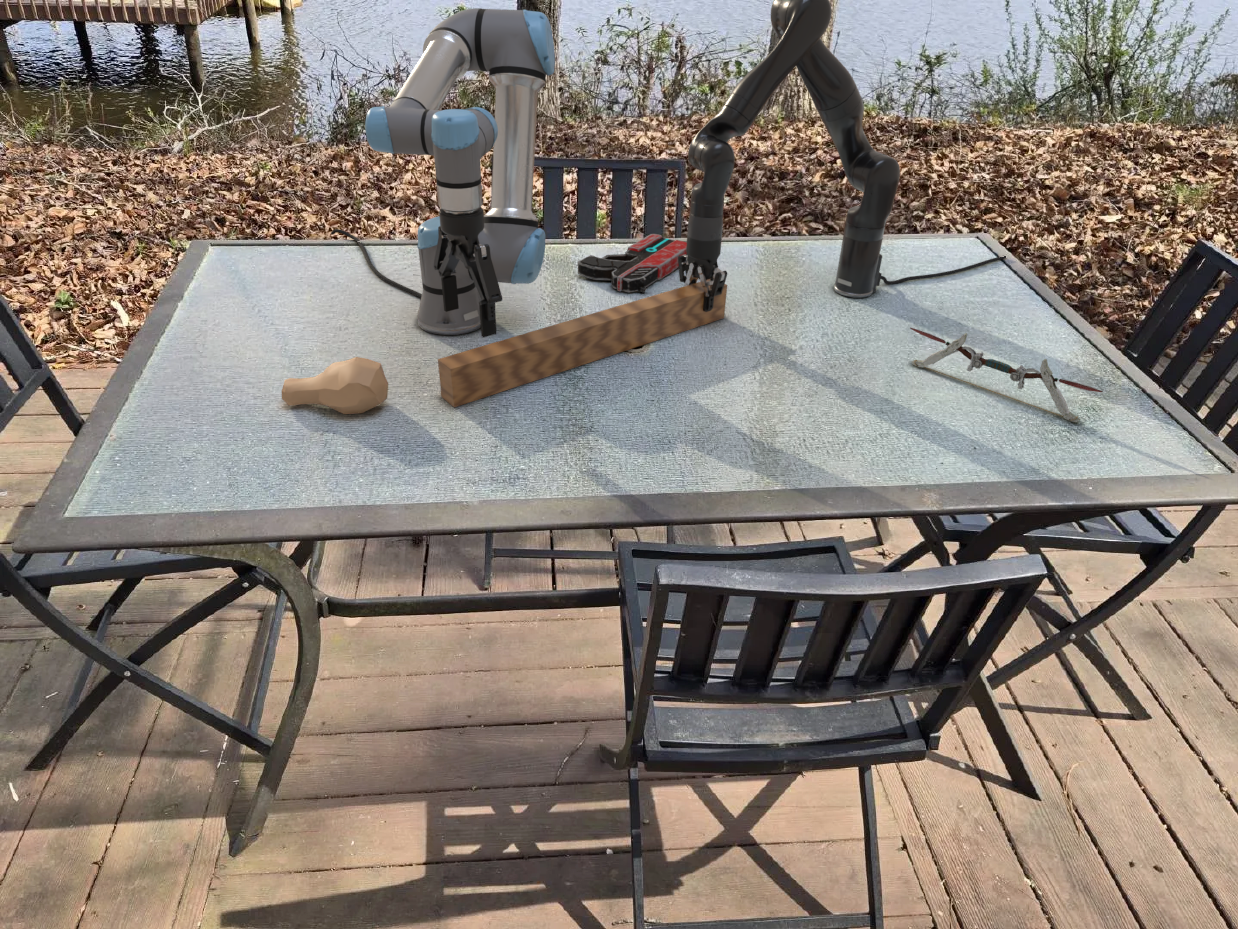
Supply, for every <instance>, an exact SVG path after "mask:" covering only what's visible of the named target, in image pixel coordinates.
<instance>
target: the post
mask: <svg viewBox="0 0 1238 929" xmlns="http://www.w3.org/2000/svg"><path fill="white" fill-rule="evenodd" d="M708 281H710V279H708V280H706V282H708ZM709 291H710V285H709ZM727 292H728V284H726V283H725V284H724V288H723V291H722V294H721V295H717V296H714V304H713V309H712V310H711V311H708V312H705V311H703V303H704V296H705V294H704V288H703V287H702V286H701V281H697V283H694V284H691V285H687V286H685V285H683V286H681V287H677V288H674V289H671V290H667V291H665V292H661V293H658V294H657V293H656V294H654V295H651V296H646V297H644V298H641V299H636V300H633V301H631V302H626V303H623V304H620V305H617V306H613V307H610V308H606V309H603V310H600V311H596V312H593V313H589V314H585V315H583V316H579V317H577V318H573V319H569V320H566V321H563V322H559V323H556V324H553V325H549V326H545V327H542V328H539V329H535V330H532V331H528V332H525V333H522V334H518V335H515V336H511V337H509V338H504V339H502V340H498V341H495V342H491V343H488V344H485V345H482V346H478V347H475V348H471V349H468V350H464V351H461V352H457V353H454V354H451V355H448V356H444V357H440V358H438V359H437V366H438V374H439V386H440V396H441V399H443V400H444V401H446V402H447V403H448V404H449V405H451V407H453V408H457V407H460V406H464V405H466V404H469V403H472V402H475V401H478V400H481V399H484V398H487V397H491V396H494V395H496V394H500V393H502V392H506V391H508V390H512V389H514V388H517V387H520V386H521V387H522V386H524V385H526V384H529V383H533V382H536V381H539V380H541V379H545V378H547V377H551V376H554V375H557V374H561V373H564V372H566V371H569V370H572V369H575V368H578V367H581V366H585V365H587V364H590V363H593V362H596V361H599V360H602V359H606V358H609V357H611V356H614V355H617V354H620V353H623V352H626V351H629V350H632V349H635V348H638V347H642V346H644V345H647V344H651V343H653V342H656V341H659V340H663V339H665V338H668V337H671V336H674V335H677V334H681V333H683V332H687V331H689V330H692V329H696V328H699V327H701V326H704V325H707V324H711V323H714V322H716V321H719V320H720V321H721V320H723V319H725V312H726V303H727Z"/></svg>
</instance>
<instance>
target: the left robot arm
mask: <svg viewBox="0 0 1238 929" xmlns="http://www.w3.org/2000/svg"><path fill="white" fill-rule="evenodd" d="M555 67H556V56H555V44H554V38H553V30H552V26H551V22H550V20H549V18H548V17H547V15H546V14H545V13H544V12H542V11H535V10H527V9H526V8H525V9H500V8H499V9H498V8H497V9H495V8H480V7H479V8H478V7H475V8H474V7H473V8H468V9H462V10H460V11H458V12H455V13H454V14H452V15H450V16H447V18H445V19H444V20H442V21H440V22H439V23H437V25H435V26H434V28H433V29H432V30H431V31H430V32H429V33H428V35H427V36H426V38H425V40H424V41H423V46H422V55H421V56H420V58H419V60H418V61H417V63H416V64H415V66H414V68H413V69H412V70H411V72H410V74H409V75H408V77H407V78H406V80H405V82H404V84H403V85H402V86H401V89H400V90H399V91H398V93H397V94H396V97H395V98H394V99H393V100H392V102H391V104H390V105H389V106H385V105H382V106H373V107H371V108H369V110H368V111H367V113H366V116H365V122H364V124H365V125H364V126H365V135H366V140H367V143H368V145H369V147H370V148H371V149H372V150H373V151H375V152H379V153H387V154H391V155H395V154H398V155H399V154H402V155H419V156H420V155H421V156H433V158H434V159H433V160H434V168H435V169H434V170H435V177H436V179H435V181H436V182H435V183H436V185H435V186H436V195H437V206H438V207H439V208H440V209H439V211H438V216H434V217H431V218H428V219H427V220H425V221H424V222H422V223H421V224H420V225H419V226H418V229H417V247H416V248H417V250H418V258H419V259H418V260H419V267H420V275H421V276H420V278H421V284H422V292H421V293H420V292H419V291H416V290H414V289H411V288H410V287H407V286H404V285H403V284H401V283H398V282H396V281H394V280H392V279H390V278H388V277H387V276H385V275H384V274H382V273H381V272H380V271H378V269H377V268H376V267H375V266H374V264H373V263H372V260H371V258H370V256H369V254H368V252H367V249H366V247H365V245H364V244H363V243H362V242H361V243H360V242H356V241H361V240H360V239H359V238H358V237H357V236H355V235H353V234H351V233H350V232H348V231H345V230H343V229H340V228H334V229H333V230H331V232H330V235H335V234H337V233H339V234H342V235H345V236H346V237H348V238H349V239H352V240H353V241H355V242H356V244H358V246H359V247H360V249H361V251H362V253H363V256H364V258H365V261H366V263H367V265H368V267H369V268H370V269H371V271H372V272H373V273H374V274H375V275H376V276H377V277H379V279H381V280H382V281H384V282H386V283H388V284H389V285H391V286H394V287H396V288H398V289H401V290H402V291H404V292H406V293H409V294H410V295H413V296H415V297H418V298H419V299H420V302H419V305H418V310H417V315H416V318H417V325H418V326H419V328H420V329H421V330H423V331H424V332H427V333H430V334H433V335H440V336H459V335H465V334H469V333H473V332H476V331H477V330H480V335H481V336H480V337H482V338H487V337H490V336H494V335H497V320H496V316H497V315H496V303H499V302H502V301H503V294H502V292H501V288H500V285H499V283H501V284H511V285H517V284H518V285H519V284H520V285H521V284H522V285H526V284H527V285H530V284H532V283H534V282H535V281H536V280H537V279H538V277H539V275H540V273H541V269H542V267H543V262H544V258H545V253H546V252H545V251H546V238H547V236H546V232H545V230H544V229H542V228H541V227H539V218H537V217H536V215H534V212H533V194H534V192H533V191H534V174H535V173H534V172H535V171H534V170H535V155H536V154H535V153H536V152H535V151H536V135H537V134H536V133H537V132H536V131H537V112H538V94H539V92H540V91H541V90H542V89H543V88H544V87H546V80H547V76H548V77H549V76H552V75H553V74H554V73H555ZM467 72H488V81H490V83H491V84H492V86H493V87H495V88H494V89H495V100H494V101H495V102H494V116H493V114H492V113H491V112H489V111H488V110H487V109H485V108H483V107H478V106H473V107H468V108H465V109H462V108H461V109H460V108H449V109H448V108H447V109H442V110H441V107H442V106H443V104H444V102H445V101H446V99H447V97H448V95H449V93H450V91H451V90H452V88H453V86H454V85H455V82H456V81H457V79H459V78H462V77H463V76H464V75H465V74H466V73H467ZM492 149H493V150H492ZM491 150H492V151H493V152H492V155H493V156H492V175H491V176H492V177H491V200H490V201H491V202H490V209H489V210H488V211H487V212H486V213H485V212H484V209H483V204H484V203H483V188H484V187H483V185H482V168H481V159H482V158H483V157H484V156H485V155H486V154H487V153H489V152H490V151H491ZM484 213H485V214H484Z"/></svg>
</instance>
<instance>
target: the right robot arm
mask: <svg viewBox="0 0 1238 929" xmlns="http://www.w3.org/2000/svg"><path fill="white" fill-rule="evenodd" d="M832 12H833V10H832V5H831V2H830V0H773V2H772V4H771V8H770V23H771V27H772V29H773V32H774V34H775V35H776V37H777V38H778V40H779V41H778V42H777V44H776V45H775V46H774V48H773V49H772V50H771V51H770V52H769V54H767V56H766V57H765V58H763V60H762V61H760V62H759V63H758V64H757V65H756V66H754V67H753V68H752V69H751V70H750V71H748V72H747V73H746V74H745V75H744V76H743V77H742V78H741V79H740V81H739V82H737V84H736V86H735V87H734V88H733V90H732V91H731V92H730V94H729V96H728V97H727V99H726V100H725V101H724V103H723V105H722V107H721V108H720V110H719V111H718V113H717V114H715V115H714V116H712V118H711V119H710V120H708V122H707V123H706V124H705V125H704V126H703V127H702V128H701V129H700V130H699V131H698V132H697V133H696V134H695V136H694V137H693V139H692V140H691V142H690V144H689V147H688V151H687V158H688V161H689V163H690V165H691V166H692V167H693V168H695V169H696V170H699V171H701V172H703V178H702V182H698V183H696V184H695V185H693V187H692V190H691V195H690V208H689V217H688V222H687V223H688V224H687V234H686V242H687V246H686V253H687V254H685V255H681V256H678V266H679V267H678V276H679V277H678V278H679V282H680V283H683V284H684V286H687V285H691V284H694V283H698V280H699V282H701V286H702V287H703V288H704V294H705V296H704V303H703V311H705V312H708V311H711V310H712V309H713V304H714V296H717V295H721V294H722V291H723V288H724V284H726V281H727V277H728V272H727V270H721V269H720V268H719V264H718V260H719V257H720V255H721V252H722V240H723V228H724V207H725V206H724V205H725V194H726V193H727V190H728V187H729V185H730V181H731V178H732V175H733V172H734V168H735V163H736V162H735V161H736V160H735V158H736V157H735V151H734V149H733V147H732V145H731V144H730V143H728V142H729V141H730V140H731V139H732V138H735V137H743V136H744V135H746V133H747V132H748V131H749V130H750V129H751V127H752V125H753V124H754V122H755V120H756V119H757V118H758V116H759V115H760V113H761V111H762V110H763V109H764V107H765V105H766V104H767V103H768V101H769V99H770V98H771V97H772V96H773V94H774V93H775V91H776V90H777V89H778V88H779V87H780V85H781V84H782V83H783V82H784V80H785V79H786V78H787V77H788V76H789V75H790V74H791V72H792V71H793V70H794V69H795V68H796V70H797V71H798V73H799V76H800V77H801V80H802V82H803V84H804V86H805V88H806V90H807V92H808V94H809V96H810V98H811V100H812V102H813V105H814V107H815V110H816V112H817V113H818V116H819V118H820V119H821V121H822V123H823V126H825V129H826V130H827V133H828V136H829V137H830V139H831V141H832V142H833V144H834V147H835V148H836V151H837V153H838V155H839V158H840V162H841V165H842V168H843V171H844V174H845V177H846V179H847V181H848V183H849V184H850V186H851V187H853V189H855V190H857V191H858V192H861V193H862V199H861V202H860V205H855V206H852V207H850V208H848V210H847V212H846V217H845V223H844V229H843V234H842V241H841V245H840V246H841V247H840V252H839V257H838V265H837V269H836V274H835V275H836V276H835V282H834V284H833V290H834V292H835V293H837V294H839V295H841V296H844V297H847V298H853V299H863V298H868V297H870V296H872V295H873V293H876V291H877V287H879V286H880V284H881V280H882V281H883V283H884V284H885V285H891V286H892V285H898V284H901V283H904V282H908V281H915V280H916V281H917V280H925V279H933V278H938V277H943V276H949V275H954V274H957V273H962V272H965V271H968V270H969V271H970V270H972V269H976V268H978V267H981V266H984V265H987V264H990V263H994V262H999V261H1002V260H1005V259H1007V258H1006V256H1004V255H1003V256H1004V257H1000V256H997V257H993V258H990V259H989V258H988V259H986V260H984V261H983V260H982V261H980V262H976V263H974V264H971V265H967V266H964V267H961V268H957V269H953V270H952V269H951V270H948V271H943V272H936V273H929V274H920V275H913V276H907V277H903V278H899V279H896V280H888V279H887V277H885V276H884V275H882V272H880V271H881V267H882V266H881V265H882V261H883V255H882V254H881V250H882V244H883V238H884V233H885V230H886V224H887V220H888V218H889V217H890V215H891V212H892V211H893V208H894V202H895V200H896V195H897V192H898V188H899V183H900V177H901V168H900V167H901V166H900V164H899V162H898V160H896V159H895V158H893V157H892V156H889V155H887V154H884V153H881V152H879V151H877V150H875V148H873V147H872V145H871V143H870V142H869V140H868V137H867V135H866V134H865V131H864V128H863V121H864V112H865V111H864V110H865V108H864V100H863V98H862V95H861V93H860V91H859V88H858V85H857V84H856V81H855V79H854V78H853V76H852V75H851V73H850V72H849V70H848V69H847V68H846V67H845V65H844V64H843V63H842V62H841V61H840V60H839V59H838V58H837V57H836V56H835V55H834V54H833V52H832V51H830V49H829V48H828V47H827V45H825V44H826V43H824V41H823V40H822V37H823V36H824V35H825V33H826V31H827V30H828V27H829V26H830V22H831V19H832ZM999 257H1000V258H999ZM708 279H710V281H708V282H706V280H708ZM709 285H710V291H709Z"/></svg>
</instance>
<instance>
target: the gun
mask: <svg viewBox="0 0 1238 929" xmlns="http://www.w3.org/2000/svg"><path fill="white" fill-rule="evenodd" d="M686 246H687V241H683V240H680V239H671V238H666V237H663V236H662V235H661V234H657V233H650V234H649V235H647V236H644V237H643V238H641V239H640V240H638V241H636V242H634V243H633V244H631V245H630V246H628V247H627V250H626V251H625V252H624V253H620V254H618V253H617V254H606V255H604V256H602V257H598V256H596V255H592V254H590V255H588V256H586V257H584V258H582V259H580V260H578V261H577V275H579V276H580V277H583V278H587V279H591V280H593V281H611V282H610V283H611V284H610V285H611V287H612V289H614V290H616V291H617V292H625V293H634V292H635V293H636V292H639V293H643V294H644V293H646V288H647V287H649V286H650V285H652V284H654V283H655V282H656V281H660V280H662V279H664V278H665V277H667V276H668V275H670V274H672V273H673V272H674V271H675V270H677V269H679V266H678V256H681V255H685V254H687V253H686Z"/></svg>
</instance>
